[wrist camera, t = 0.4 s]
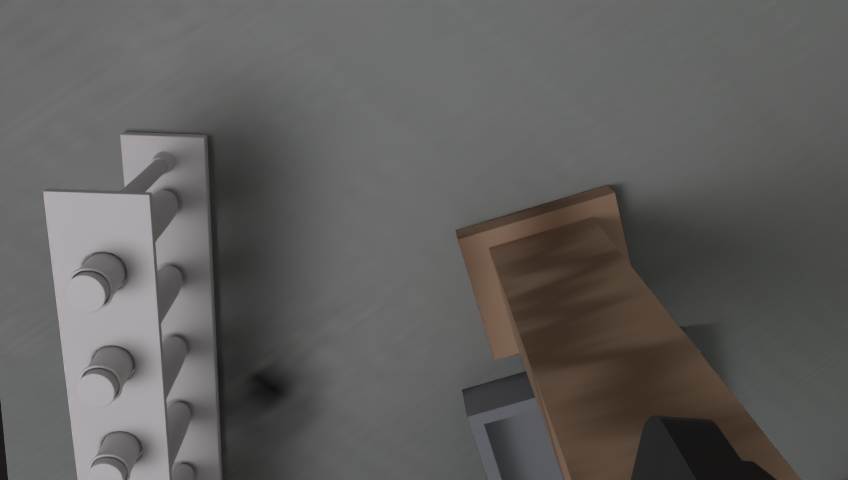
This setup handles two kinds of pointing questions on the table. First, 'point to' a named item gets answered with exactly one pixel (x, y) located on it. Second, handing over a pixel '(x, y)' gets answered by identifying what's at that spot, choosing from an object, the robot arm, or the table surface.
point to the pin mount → (595, 337)
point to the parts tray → (512, 430)
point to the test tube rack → (140, 314)
